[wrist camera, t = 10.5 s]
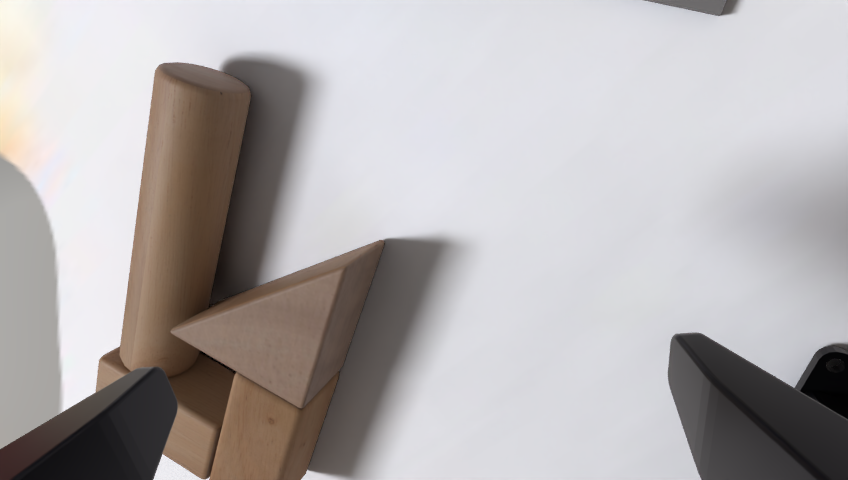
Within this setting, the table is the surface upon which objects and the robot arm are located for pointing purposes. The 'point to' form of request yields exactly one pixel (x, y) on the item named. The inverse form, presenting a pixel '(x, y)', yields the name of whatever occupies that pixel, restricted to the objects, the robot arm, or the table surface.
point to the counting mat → (696, 5)
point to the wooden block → (227, 299)
